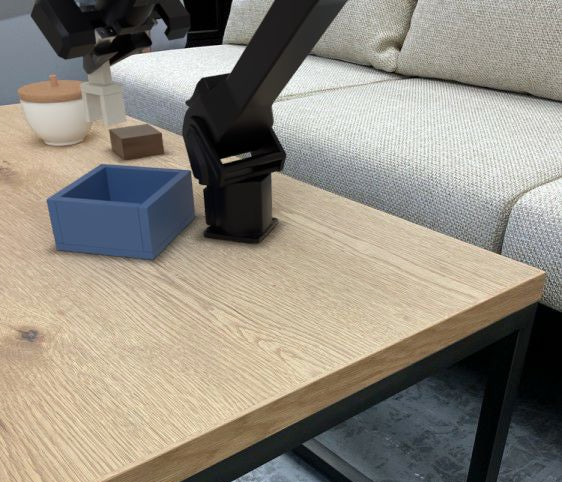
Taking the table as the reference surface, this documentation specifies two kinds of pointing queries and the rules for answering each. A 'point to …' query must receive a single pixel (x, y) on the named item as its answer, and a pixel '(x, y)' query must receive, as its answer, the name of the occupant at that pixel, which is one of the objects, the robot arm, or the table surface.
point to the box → (122, 210)
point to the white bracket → (103, 97)
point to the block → (136, 141)
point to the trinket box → (55, 111)
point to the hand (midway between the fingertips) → (91, 69)
